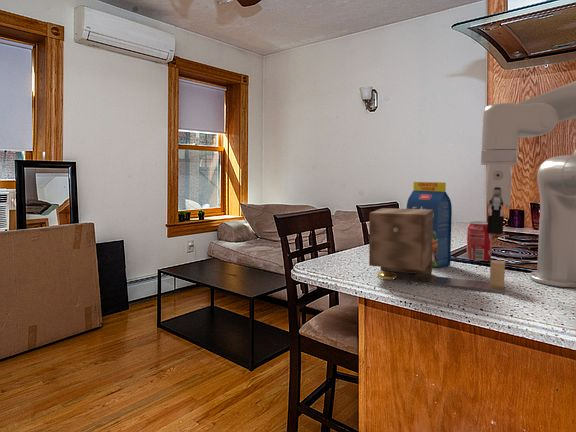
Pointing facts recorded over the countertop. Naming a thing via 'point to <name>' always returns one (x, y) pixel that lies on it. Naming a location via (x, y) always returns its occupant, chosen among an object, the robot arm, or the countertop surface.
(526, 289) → the countertop surface
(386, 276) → the brass token
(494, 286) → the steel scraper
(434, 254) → the blue food package
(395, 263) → the walnut cabinet
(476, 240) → the soda can
